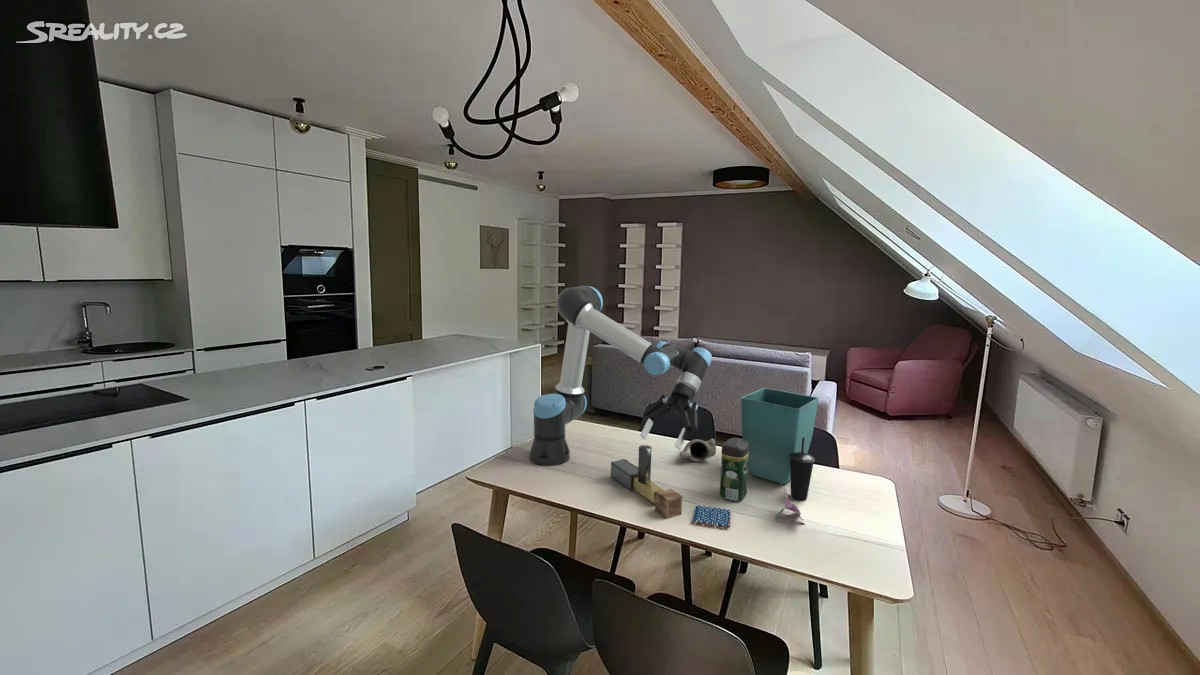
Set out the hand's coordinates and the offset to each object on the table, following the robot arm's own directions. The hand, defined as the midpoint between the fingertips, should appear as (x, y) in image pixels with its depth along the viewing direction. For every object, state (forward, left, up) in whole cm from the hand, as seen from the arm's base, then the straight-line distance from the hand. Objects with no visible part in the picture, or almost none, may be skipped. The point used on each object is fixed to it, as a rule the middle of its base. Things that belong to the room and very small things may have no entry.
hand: (659, 442), depth 165 cm
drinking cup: (+26, +37, -17) cm, 48 cm away
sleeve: (-9, -6, -16) cm, 20 cm away
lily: (+34, +23, -17) cm, 44 cm away
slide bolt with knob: (-3, -6, -15) cm, 17 cm away
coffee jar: (+15, +19, -17) cm, 29 cm away
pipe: (-14, +30, -17) cm, 37 cm away
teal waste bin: (+10, +44, -17) cm, 48 cm away
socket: (+14, -6, -16) cm, 22 cm away
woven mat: (+23, +3, -17) cm, 29 cm away
